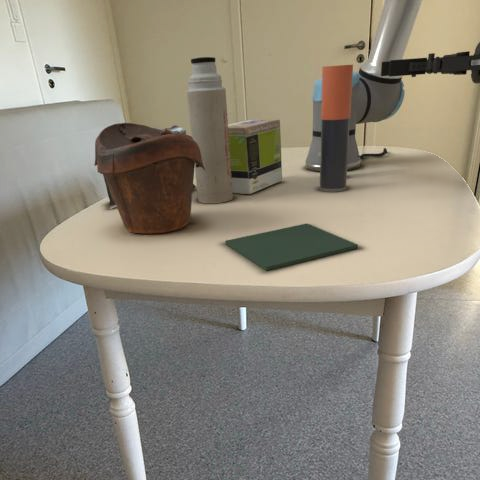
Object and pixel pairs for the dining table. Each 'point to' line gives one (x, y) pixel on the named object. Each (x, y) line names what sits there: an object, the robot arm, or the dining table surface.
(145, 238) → the dining table surface
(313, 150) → the robot arm
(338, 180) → the dark grey cylinder
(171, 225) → the brown tapered pot
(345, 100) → the orange cylinder
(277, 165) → the tea box
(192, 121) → the thermos bottle
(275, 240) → the mat
